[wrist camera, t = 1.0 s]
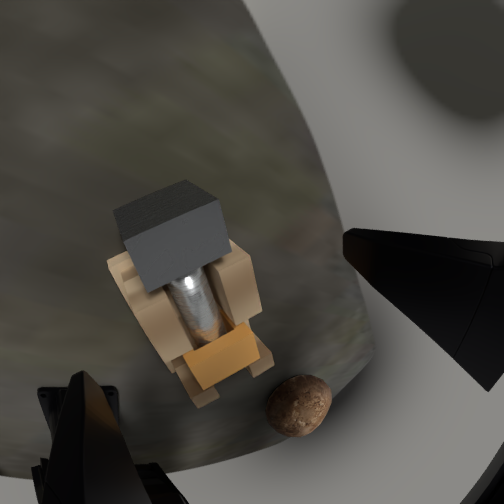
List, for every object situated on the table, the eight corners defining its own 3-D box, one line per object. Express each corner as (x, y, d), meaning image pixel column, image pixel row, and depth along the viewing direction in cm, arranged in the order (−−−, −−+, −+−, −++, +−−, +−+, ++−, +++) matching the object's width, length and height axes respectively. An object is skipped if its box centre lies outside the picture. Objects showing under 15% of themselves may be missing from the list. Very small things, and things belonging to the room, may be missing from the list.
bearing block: (244, 323, 23) (280, 363, 19) (167, 364, 21) (193, 413, 17) (213, 211, 18) (257, 242, 14) (106, 260, 15) (119, 310, 11)
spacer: (237, 330, 19) (260, 358, 17) (185, 358, 18) (203, 390, 16) (228, 304, 18) (253, 332, 16) (171, 334, 17) (189, 367, 14)
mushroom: (319, 416, 34) (337, 437, 28) (260, 425, 33) (270, 450, 27) (321, 362, 35) (342, 377, 28) (258, 370, 33) (269, 388, 27)
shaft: (233, 331, 21) (263, 367, 18) (185, 357, 19) (209, 398, 16) (185, 179, 14) (218, 199, 11) (112, 210, 13) (123, 241, 10)
